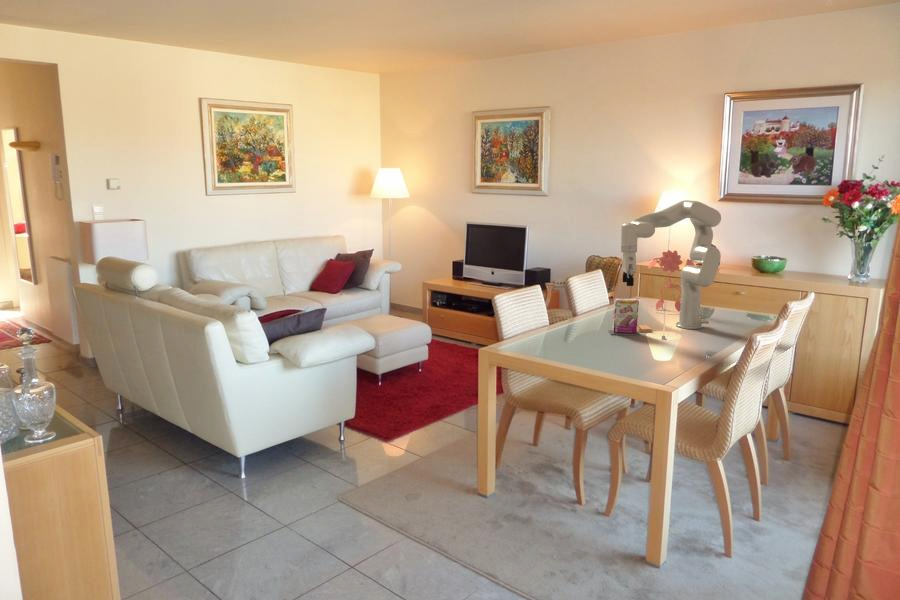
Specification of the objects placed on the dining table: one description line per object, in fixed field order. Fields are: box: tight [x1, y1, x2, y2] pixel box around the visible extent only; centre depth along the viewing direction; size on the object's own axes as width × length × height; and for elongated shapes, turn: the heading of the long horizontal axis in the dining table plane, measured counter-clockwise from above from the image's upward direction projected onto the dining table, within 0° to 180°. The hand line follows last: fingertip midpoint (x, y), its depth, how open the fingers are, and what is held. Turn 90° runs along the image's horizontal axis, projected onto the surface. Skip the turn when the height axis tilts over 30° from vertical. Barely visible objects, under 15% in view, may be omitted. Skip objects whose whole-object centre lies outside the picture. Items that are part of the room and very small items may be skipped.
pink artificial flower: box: [647, 249, 695, 316], centre depth 368 cm, size 15×26×35 cm, turn 56°
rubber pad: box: [608, 329, 641, 336], centre depth 324 cm, size 14×7×1 cm, turn 87°
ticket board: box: [637, 324, 652, 333], centre depth 330 cm, size 6×8×2 cm
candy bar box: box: [612, 298, 639, 333], centre depth 322 cm, size 11×5×16 cm, turn 85°
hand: (627, 284), depth 319 cm, fingers open, 9 cm apart
